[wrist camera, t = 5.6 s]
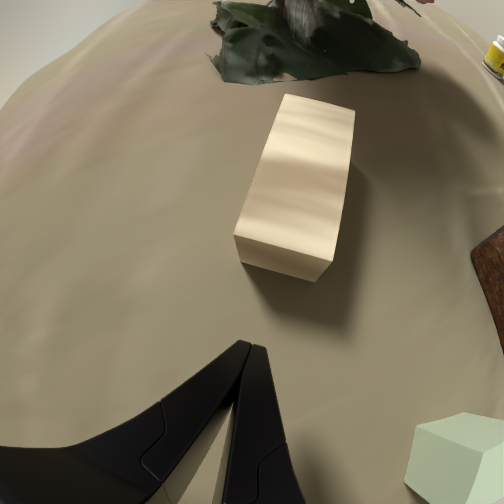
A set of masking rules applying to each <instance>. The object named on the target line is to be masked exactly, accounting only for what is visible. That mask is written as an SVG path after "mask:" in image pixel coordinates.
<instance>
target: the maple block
mask: <svg viewBox="0 0 504 504" xmlns="http://www.w3.org/2000/svg"><path fill="white" fill-rule="evenodd" d="M354 119H355V111H353V110H350V109H347V108H343V107H340V106H336V105H332V104H329V103H325V102H321V101H317V100H313V99H308V98H304V97H299V96H295V95H290V94H285V95H284V98H283V100H282V103H281V106H280V108H279V111H278V113H277V116H276V119H275V121H274V124H273V127H272V129H271V132H270V135H269V137H268V140H267V143H266V145H265V148H264V151H263V153H262V156H261V159H260V161H259V164H258V167H257V170H256V172H255V175H254V178H253V181H252V183H251V186H250V189H249V192H248V194H247V197H246V200H245V203H244V206H243V208H242V211H241V214H240V217H239V220H238V223H237V225H236V228H235V231H234V234H233V235H234V238H235V242H236V246H237V250H238V254H239V258H240V261H241V262H243V263H246V264H250V265H254V266H257V267H261V268H264V269H268V270H271V271H275V272H279V273H282V274H286V275H290V276H293V277H297V278H300V279H304V280H308V281H311V282H316V281H317V279H318V278H319V277H320V276H321V275H322V273H323V272H324V271H325V270H326V269H327V267H328V266H329V265H330V264H331V263H332V261H333V256H334V252H335V247H336V242H337V236H338V231H339V226H340V220H341V215H342V209H343V203H344V197H345V191H346V184H347V177H348V170H349V163H350V155H351V147H352V138H353V129H354Z"/></svg>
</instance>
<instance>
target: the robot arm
mask: <svg viewBox="0 0 504 504" xmlns="http://www.w3.org/2000/svg"><path fill="white" fill-rule="evenodd" d="M233 402H234V403H233ZM232 405H233V406H232ZM231 407H232V410H231V415H230V420H229V425H228V430H227V434H226V439H225V444H224V449H223V454H222V459H221V463H220V468H219V473H218V478H217V482H216V487H215V492H214V496H213V501H212V504H306V502H305V499H304V497H303V494H302V492H301V489H300V487H299V484H298V481H297V478H296V475H295V473H294V470H293V466H292V462H291V458H290V454H289V450H288V445H287V443H286V437H285V433H284V428H283V423H282V419H281V414H280V410H279V405H278V400H277V396H276V391H275V387H274V382H273V377H272V373H271V368H270V363H269V359H268V354H267V350H266V348H265V347H263V346H260V345H256V344H253V345H252V344H251V343H250V342H246V341H243V340H238V341H237V342H235V343H234V344H233V345H232V346H230V347H229V348H228V349H227V350H225V351H224V352H223V353H222V354H220V355H219V356H218V357H217V358H215V359H214V360H213V361H212V362H210V363H209V364H208V365H206V366H205V367H204V368H203V369H201V370H200V371H199V372H197V373H196V374H195V375H193V376H192V377H191V378H189V379H188V380H187V381H185V382H184V383H183V384H181V385H180V386H179V387H177V388H176V389H175V390H173V391H172V392H171V393H169V394H168V395H166V396H165V397H164V398H162V399H161V400H160V401H158V402H156V403H155V404H154V405H152V406H151V407H149V408H148V409H146V410H145V411H143V412H142V413H140V414H139V415H137V416H135V417H134V418H132V419H130V420H128V421H126V422H124V423H123V424H121V425H119V426H117V427H115V428H112V429H110V430H108V431H106V432H104V433H102V434H100V435H97V436H95V437H93V438H91V439H88V440H86V441H84V442H81V443H79V444H76V445H72V446H68V447H61V448H23V447H7V446H0V504H177V503H178V502H179V500H180V498H181V497H182V495H183V494H184V492H185V490H186V489H187V487H188V485H189V483H190V482H191V480H192V478H193V477H194V475H195V473H196V472H197V470H198V468H199V466H200V465H201V463H202V461H203V459H204V458H205V456H206V454H207V452H208V450H209V449H210V447H211V445H212V443H213V441H214V440H215V438H216V436H217V434H218V432H219V430H220V429H221V427H222V425H223V423H224V421H225V419H226V417H227V415H228V414H229V411H230V409H231Z"/></svg>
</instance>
